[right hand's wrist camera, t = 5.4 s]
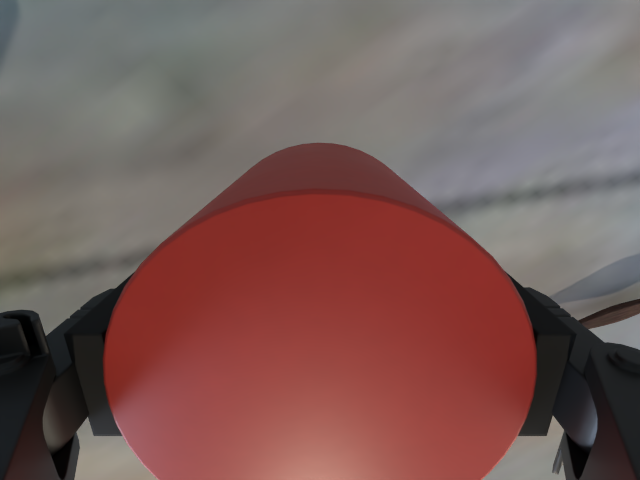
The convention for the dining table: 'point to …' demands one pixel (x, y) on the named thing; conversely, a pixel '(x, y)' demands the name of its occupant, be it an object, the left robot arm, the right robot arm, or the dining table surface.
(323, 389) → the canister
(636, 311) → the fork
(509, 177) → the dining table surface
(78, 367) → the right robot arm
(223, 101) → the dining table surface
